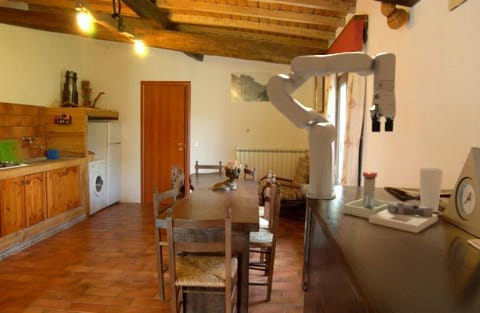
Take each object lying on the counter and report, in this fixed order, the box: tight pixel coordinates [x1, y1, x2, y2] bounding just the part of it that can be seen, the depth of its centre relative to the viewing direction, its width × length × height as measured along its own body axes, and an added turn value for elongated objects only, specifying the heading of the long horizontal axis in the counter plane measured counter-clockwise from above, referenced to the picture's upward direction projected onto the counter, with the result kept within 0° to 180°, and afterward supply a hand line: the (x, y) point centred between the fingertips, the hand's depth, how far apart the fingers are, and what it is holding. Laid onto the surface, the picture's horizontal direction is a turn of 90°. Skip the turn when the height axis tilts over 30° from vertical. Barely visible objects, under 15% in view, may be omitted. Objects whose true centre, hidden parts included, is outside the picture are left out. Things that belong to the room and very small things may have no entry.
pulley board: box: [368, 201, 439, 234], centre depth 101 cm, size 14×17×5 cm
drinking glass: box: [419, 167, 443, 213], centre depth 112 cm, size 7×7×15 cm
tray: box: [343, 198, 390, 219], centre depth 112 cm, size 10×15×3 cm
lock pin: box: [362, 171, 378, 209], centre depth 112 cm, size 5×5×13 cm
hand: (382, 131), depth 123 cm, fingers open, 9 cm apart
